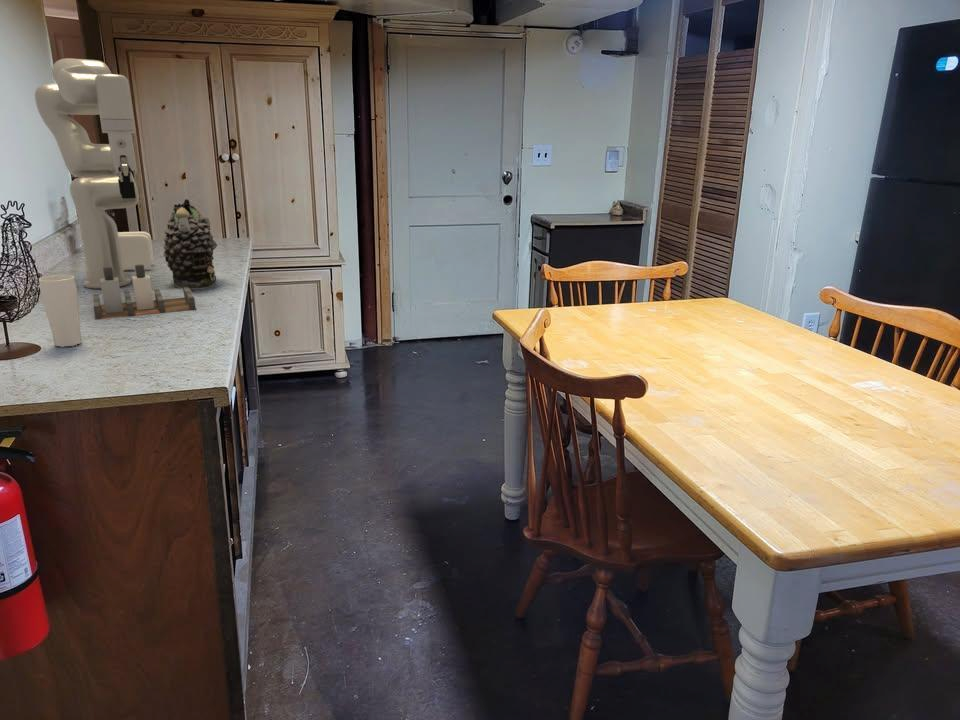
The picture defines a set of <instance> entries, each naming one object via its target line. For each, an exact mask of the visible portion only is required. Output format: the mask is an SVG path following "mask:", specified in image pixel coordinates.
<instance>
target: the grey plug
mask: <svg viewBox="0 0 960 720" xmlns="http://www.w3.org/2000/svg"><path fill="white" fill-rule="evenodd" d="M103 272H104V278H102V279H100V282H101V288H100V289H101V292H102V293H101V294H102V302H103V305H104V307H105V313H112V312H123V307H122V303H123V301H122V295H121V289H120V288H121V286H120V287H119V281H118V277H115V278H113V271H112V267H104V268H103Z"/></svg>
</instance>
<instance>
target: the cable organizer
mask: <svg viewBox="0 0 960 720" xmlns="http://www.w3.org/2000/svg"><path fill="white" fill-rule="evenodd" d="M117 232H118V238H119V245H120V252H121V259H122V265H123V272H125V271H128V270H129V271H130V270H133V271H134V272H136V269H135V265H144V271H146V270H147V269H149V268H150V267H152V265H153V262H154V260H155V259H154V251H153V244H152V243H153V242H152V237H151V234H150V233H148V232H147V231H122V232H121V231H117Z"/></svg>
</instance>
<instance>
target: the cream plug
mask: <svg viewBox="0 0 960 720" xmlns="http://www.w3.org/2000/svg"><path fill="white" fill-rule="evenodd" d="M135 269H136V271H135V274H136V275H133V276H132V275H131V279H132V288H133V292H134V300H135V301H134V302H136V307H137V310H143V309H153V308H154V302H153V300H154V297H153V289H152V282H151V276H150V274H146V272H145V271H146V270H144V265H135Z"/></svg>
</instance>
